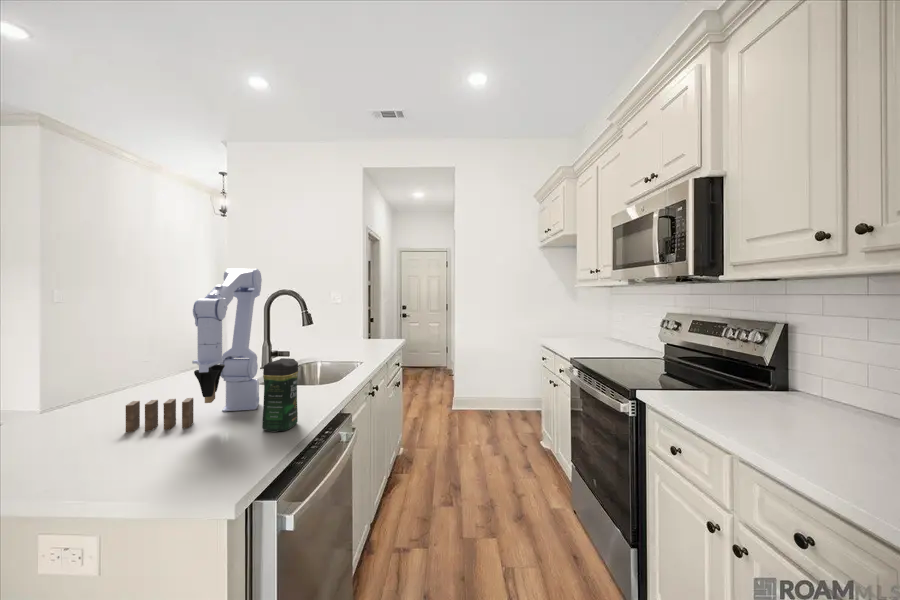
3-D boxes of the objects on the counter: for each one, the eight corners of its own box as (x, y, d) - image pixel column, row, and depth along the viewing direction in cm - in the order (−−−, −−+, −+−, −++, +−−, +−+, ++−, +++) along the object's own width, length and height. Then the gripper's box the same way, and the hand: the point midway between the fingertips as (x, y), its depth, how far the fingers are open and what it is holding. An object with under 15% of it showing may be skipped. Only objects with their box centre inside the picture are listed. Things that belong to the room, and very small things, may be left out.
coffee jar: (287, 433, 111) (287, 362, 110) (257, 432, 111) (258, 361, 111) (302, 421, 120) (302, 356, 120) (274, 421, 121) (275, 356, 120)
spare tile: (215, 398, 116) (215, 372, 115) (211, 402, 111) (211, 376, 111) (208, 398, 115) (208, 373, 115) (204, 403, 111) (204, 376, 111)
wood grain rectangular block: (139, 426, 114) (139, 400, 114) (132, 431, 110) (132, 405, 110) (132, 427, 114) (132, 401, 114) (125, 432, 110) (125, 405, 110)
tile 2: (193, 422, 118) (193, 397, 118) (188, 427, 114) (188, 401, 114) (186, 423, 118) (186, 398, 118) (182, 428, 114) (182, 402, 113)
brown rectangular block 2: (175, 423, 117) (175, 398, 117) (170, 429, 113) (170, 402, 113) (169, 424, 117) (169, 399, 116) (163, 429, 112) (163, 403, 112)
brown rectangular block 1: (158, 425, 116) (158, 399, 116) (152, 430, 111) (151, 404, 111) (151, 425, 115) (151, 400, 115) (144, 431, 111) (144, 404, 111)
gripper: (199, 340, 118) (199, 388, 119) (185, 347, 105) (185, 402, 105) (227, 339, 121) (227, 387, 121) (217, 346, 107) (217, 400, 107)
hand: (210, 394), depth 113 cm, fingers closed on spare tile, 4 cm apart
